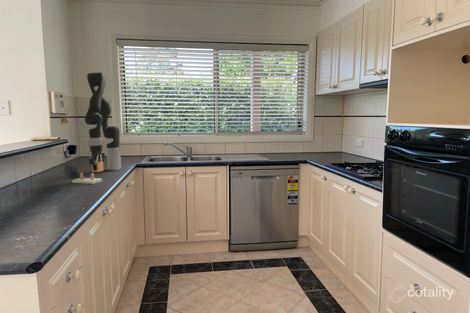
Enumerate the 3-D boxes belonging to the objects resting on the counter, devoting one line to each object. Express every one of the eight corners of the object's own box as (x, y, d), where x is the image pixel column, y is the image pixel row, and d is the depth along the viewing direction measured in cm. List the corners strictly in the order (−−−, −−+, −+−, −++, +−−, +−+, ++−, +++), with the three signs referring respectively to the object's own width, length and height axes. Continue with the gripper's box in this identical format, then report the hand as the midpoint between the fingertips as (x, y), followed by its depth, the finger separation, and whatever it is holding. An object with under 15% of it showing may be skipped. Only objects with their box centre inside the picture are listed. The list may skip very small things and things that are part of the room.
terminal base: (82, 179, 209) (81, 171, 209) (102, 180, 206) (101, 172, 205) (72, 182, 201) (71, 174, 200) (92, 183, 197) (92, 175, 196)
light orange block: (97, 170, 217) (96, 161, 216) (103, 170, 216) (102, 161, 215) (92, 171, 212) (91, 162, 212) (98, 171, 211) (98, 162, 210)
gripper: (97, 143, 219) (99, 167, 222) (83, 145, 206) (85, 171, 208) (107, 143, 218) (109, 167, 220) (93, 145, 204) (95, 172, 206)
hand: (97, 169), depth 214 cm, fingers closed on light orange block, 5 cm apart
